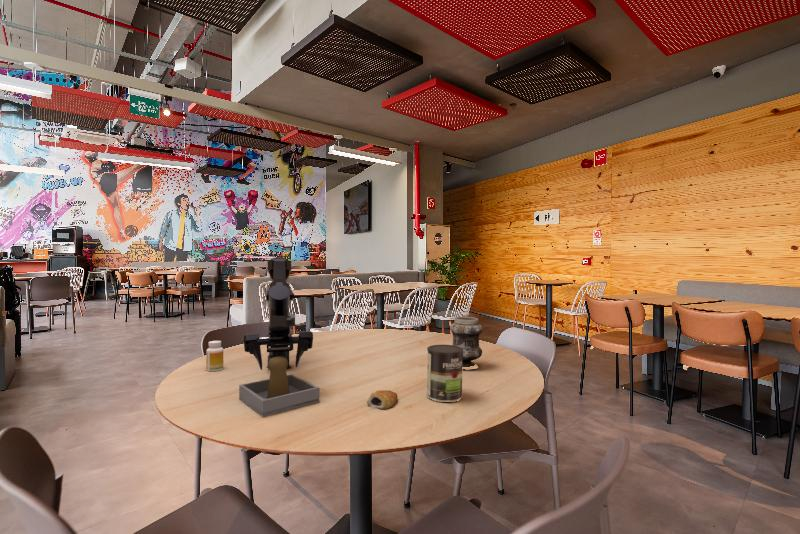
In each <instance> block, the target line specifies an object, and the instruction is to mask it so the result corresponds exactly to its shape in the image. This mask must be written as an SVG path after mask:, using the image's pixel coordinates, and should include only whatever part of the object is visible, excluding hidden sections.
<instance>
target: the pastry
mask: <svg viewBox="0 0 800 534" xmlns="http://www.w3.org/2000/svg"><path fill="white" fill-rule="evenodd" d="M397 401H398V393H397V392H394V391H392V390H390V389H389V390H385V389H384V390H375V392H372V393H371V394H370V396H369V397H368V399H367V400H366V404H367V406H368V407H370V408H374V409H378V410H379V409H380V410H386V409H390V408H391V407H393V406H394V405H395V404H396V403H397Z"/></svg>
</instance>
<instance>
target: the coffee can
mask: <svg viewBox="0 0 800 534" xmlns="http://www.w3.org/2000/svg"><path fill="white" fill-rule="evenodd" d="M462 364H463V348H461V347H458V346H454V345H453V344H434V345H432V344H431V345H429V346H427V371H426V372H427V373H426V375H427V376H426V378H427V379H426V380H427V381H426V383H427V384H426V398H428V399H429V398H430V399H432V400H431V401H433V400H434V401H433V402H436V401H438V402H437V403H442V402H452V403H455V402H454V401H457V400H459V399H460V398H461V397H462V398H463V370H462ZM430 399H429V400H430ZM457 402H458V401H457Z"/></svg>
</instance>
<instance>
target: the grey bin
mask: <svg viewBox="0 0 800 534" xmlns="http://www.w3.org/2000/svg"><path fill="white" fill-rule="evenodd" d="M287 380H288V387H289V393H290V394H286V395H282V396H277V397H273V398H269V399H267V395H268V386H269V378H267V379H262V380H258V381H252V382H248V383H247V382H246V383H242V384H239V387H238V391H239V394H238V396H239V398H238V399H239V401H241V402H242V403H244V405H246V406H248V407H249V408H250V409H252V411H254V412H256V413H257V414H258V415H259V416H261V418H264V417H268V416H269V417H270V416H273V415H276V414H280V413H283V412H287V411H291V410H295V409H299V408H301V407H302V408H303V407H306V406H310V405H314V404H317V403H320V387H319V386H317V385H315V384H314V383H311V382H309V381H307V380H305V379H302V378H300V377H299V376H297V375H295V374H292V373H291V374H287Z"/></svg>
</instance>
